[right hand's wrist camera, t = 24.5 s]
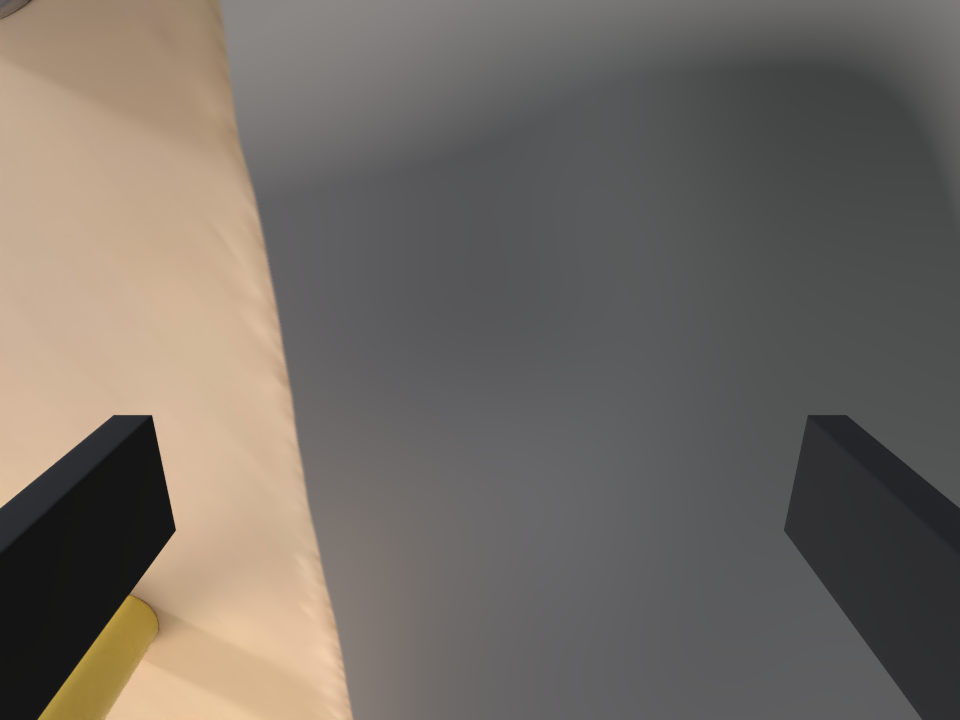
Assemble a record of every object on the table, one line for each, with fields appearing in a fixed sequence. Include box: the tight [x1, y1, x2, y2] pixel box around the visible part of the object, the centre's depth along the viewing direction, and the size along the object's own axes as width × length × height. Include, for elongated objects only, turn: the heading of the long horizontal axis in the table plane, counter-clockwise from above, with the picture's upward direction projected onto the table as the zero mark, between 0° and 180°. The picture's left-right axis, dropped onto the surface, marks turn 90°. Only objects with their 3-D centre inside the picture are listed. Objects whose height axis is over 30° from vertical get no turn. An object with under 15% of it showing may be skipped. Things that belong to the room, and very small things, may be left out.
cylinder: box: [38, 595, 159, 720], centre depth 48 cm, size 6×6×13 cm
